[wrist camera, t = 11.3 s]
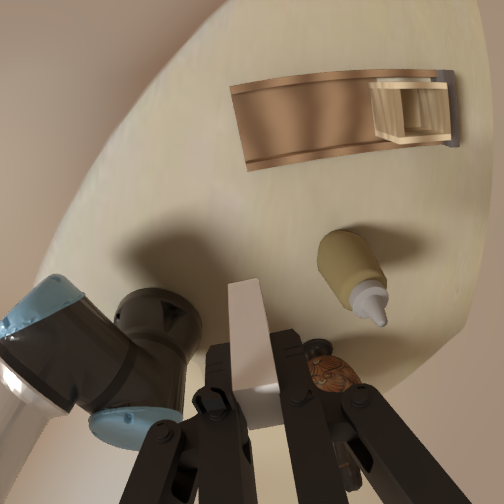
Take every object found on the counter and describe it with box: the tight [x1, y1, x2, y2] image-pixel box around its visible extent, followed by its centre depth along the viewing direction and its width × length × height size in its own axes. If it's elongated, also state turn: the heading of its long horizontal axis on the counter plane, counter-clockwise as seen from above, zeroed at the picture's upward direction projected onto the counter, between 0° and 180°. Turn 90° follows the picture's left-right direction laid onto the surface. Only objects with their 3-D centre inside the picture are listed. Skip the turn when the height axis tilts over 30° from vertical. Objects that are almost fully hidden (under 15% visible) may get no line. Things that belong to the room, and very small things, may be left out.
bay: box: [230, 69, 460, 172], centre depth 36 cm, size 30×11×5 cm, turn 101°
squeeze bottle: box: [317, 230, 388, 327], centre depth 40 cm, size 8×8×18 cm
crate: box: [369, 82, 451, 144], centre depth 34 cm, size 8×7×7 cm
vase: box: [302, 339, 362, 492], centre depth 44 cm, size 12×12×30 cm
